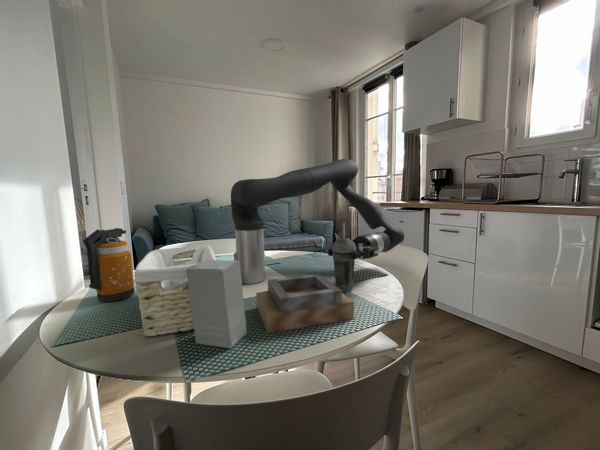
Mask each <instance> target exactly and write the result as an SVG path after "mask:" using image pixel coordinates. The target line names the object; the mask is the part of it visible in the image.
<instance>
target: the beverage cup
mask: <svg viewBox="0 0 600 450" xmlns="http://www.w3.org/2000/svg"><path fill="white" fill-rule="evenodd" d="M342 226H343V227H342V237H339V238H337V239H336V240H335V241H334V242H333V244H332V245H333V246H332V251H331V252H332V256H331V257H332V259H333V260H332V261H333V268H334V269H333V270H334V279H335V286H336V287H337V288H339V289H340V290H342V293H350V292H351V291H352V290H353V285H354V272H355V262H356V259H355V260H351V258H350V254H351V252H353V251H356V246H355V244H354V242H353V240H352V239H350V238H348V237H346V223H345V222H342Z"/></svg>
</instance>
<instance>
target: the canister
mask: <svg viewBox="0 0 600 450" xmlns="http://www.w3.org/2000/svg"><path fill="white" fill-rule="evenodd" d="M126 233H127V230H125V229H123V228H118V227H114V228H113V229H112V228H111V229H95V231H93V232H92V233H91V234H89V235H88V236H87V237H85V238H84V239H83V240H82V242H83V244H84V246H85V248H86V256H87V262H88V263H87V264H88V272H89V273H88V274H89V282H90V283H89V286H88V288H90V289H92V290H96V293H97V294H96V298H97V299H96V300H98V301H100V302H101V301H102V302H110V303H111V302H116V301H122V300H124V299H127V298H129V297H130V296H132V295H134V294H135V282H134V281H135V279H134V271H133V261H132V260H133V259H132V251H130V250H129V243H128V242H127V241H126V240H120V238H121V237H123V235H124V234H126Z"/></svg>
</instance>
